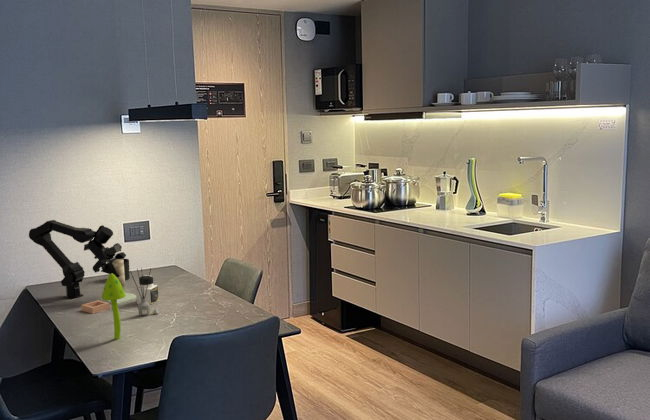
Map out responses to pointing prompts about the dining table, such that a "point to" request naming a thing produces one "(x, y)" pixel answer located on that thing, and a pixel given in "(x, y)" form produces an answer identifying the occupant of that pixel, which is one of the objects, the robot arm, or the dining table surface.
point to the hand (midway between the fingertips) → (122, 275)
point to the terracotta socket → (95, 306)
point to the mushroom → (114, 300)
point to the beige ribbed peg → (120, 271)
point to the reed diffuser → (144, 300)
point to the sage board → (123, 299)
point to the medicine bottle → (151, 290)
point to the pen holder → (126, 268)
